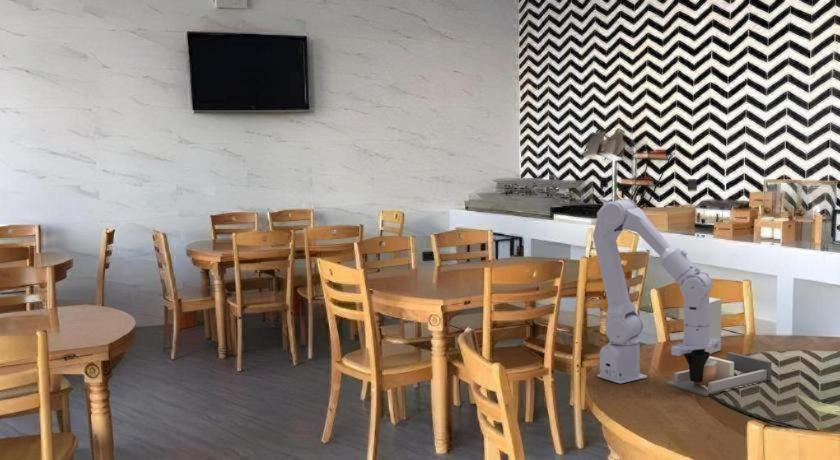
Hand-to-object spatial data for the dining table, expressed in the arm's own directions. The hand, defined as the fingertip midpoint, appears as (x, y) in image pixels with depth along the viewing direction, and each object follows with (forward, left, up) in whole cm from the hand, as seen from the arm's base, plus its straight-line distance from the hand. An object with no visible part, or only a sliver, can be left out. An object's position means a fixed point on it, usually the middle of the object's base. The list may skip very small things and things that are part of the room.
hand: (696, 381), depth 187 cm
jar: (+3, 0, -1) cm, 3 cm away
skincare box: (+29, +22, -2) cm, 36 cm away
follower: (+8, 0, -1) cm, 8 cm away
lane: (+8, 0, -2) cm, 8 cm away
